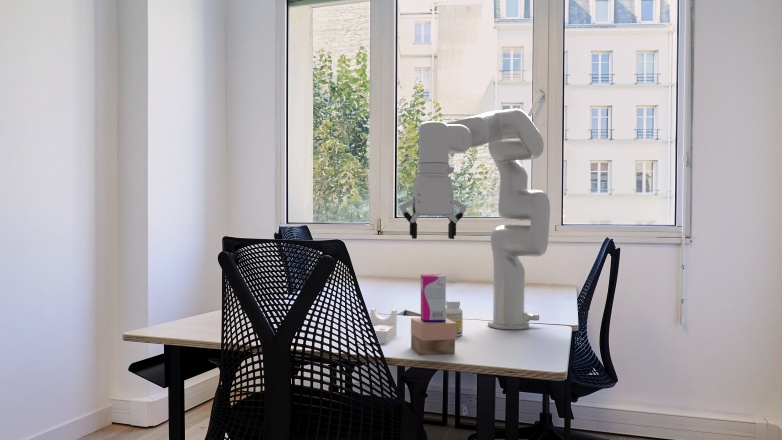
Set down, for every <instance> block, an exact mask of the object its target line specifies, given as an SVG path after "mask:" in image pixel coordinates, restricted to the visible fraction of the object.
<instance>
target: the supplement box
mask: <svg viewBox="0 0 782 440" xmlns="http://www.w3.org/2000/svg"><path fill="white" fill-rule="evenodd" d="M446 282H447V281H446V275H444V274H434V273H433V274H420V318H421V319H422V321H423V322H446V308H447V306H446V301H447V299H446V298H447V297H446V296H447V295H446V294H447V293H446V290H447V289H446V286H447V285H446Z"/></svg>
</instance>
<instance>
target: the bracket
mask: <svg viewBox="0 0 782 440" xmlns="http://www.w3.org/2000/svg"><path fill="white" fill-rule="evenodd" d="M397 310H398V309H395V308H393V309H392V310H391V312H390V315H389V316H387V317H383V316H381V315H380V314H378V311H377V308H374V307H373V308H370V317H369V318H370V319H371V321H372V324H373V327H374V329H375V332H376V335H377V338H378V340H379V342H380V343H379V344H382V343H386V344H385V345H387V344H388V343H389V342H390V341H392V339H394V338H395V337H396V336H397V323H398V322H397V318H398V317H397V316H398V315H397V313H398V311H397ZM395 335H396V336H395ZM394 336H395V337H394ZM393 337H394V338H393Z"/></svg>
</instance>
